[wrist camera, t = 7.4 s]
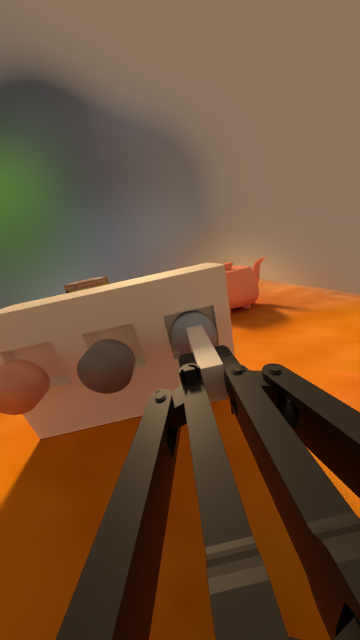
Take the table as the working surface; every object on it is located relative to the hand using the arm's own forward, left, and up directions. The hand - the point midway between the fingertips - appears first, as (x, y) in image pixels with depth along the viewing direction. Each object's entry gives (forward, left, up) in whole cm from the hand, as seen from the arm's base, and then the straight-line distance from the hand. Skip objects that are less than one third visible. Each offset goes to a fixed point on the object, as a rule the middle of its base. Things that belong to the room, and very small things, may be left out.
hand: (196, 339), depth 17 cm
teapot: (+15, +31, -9) cm, 36 cm away
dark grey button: (0, +1, -2) cm, 2 cm away
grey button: (-8, -2, -2) cm, 8 cm away
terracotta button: (-16, -2, -2) cm, 16 cm away
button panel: (-8, +4, -9) cm, 13 cm away
